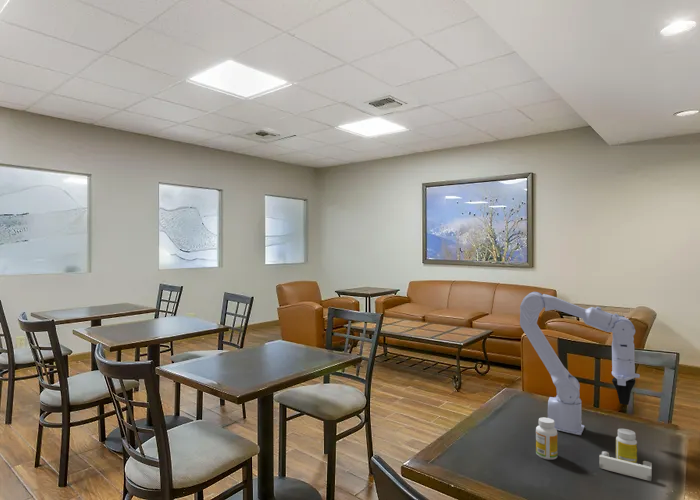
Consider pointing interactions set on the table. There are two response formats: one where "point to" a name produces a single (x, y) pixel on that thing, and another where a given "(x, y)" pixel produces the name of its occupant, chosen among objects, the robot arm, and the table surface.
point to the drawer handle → (625, 467)
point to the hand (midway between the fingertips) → (624, 403)
